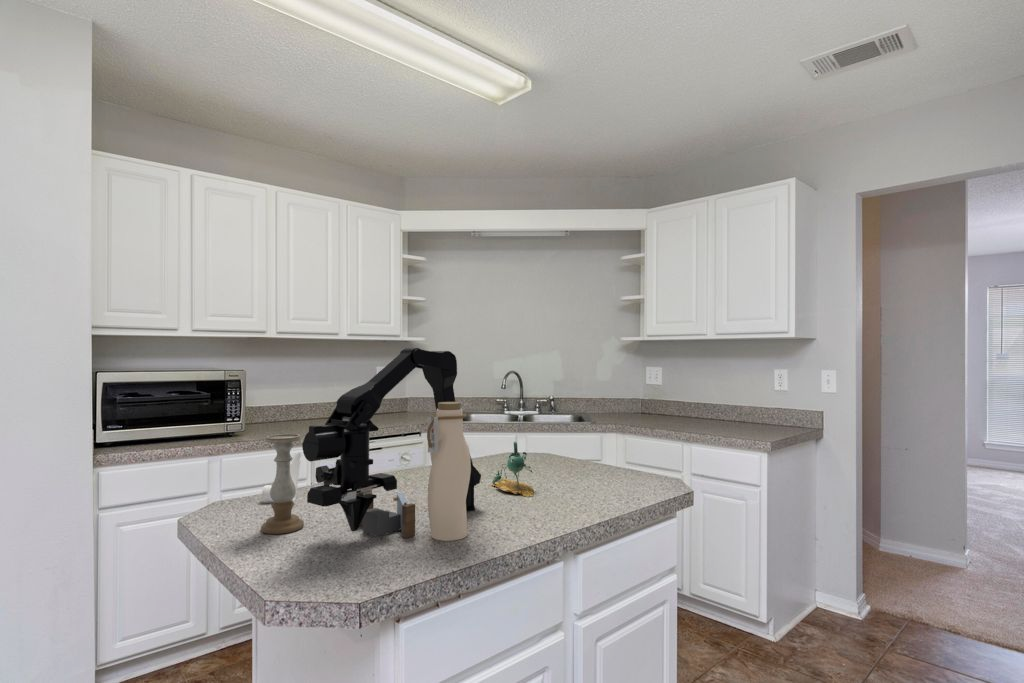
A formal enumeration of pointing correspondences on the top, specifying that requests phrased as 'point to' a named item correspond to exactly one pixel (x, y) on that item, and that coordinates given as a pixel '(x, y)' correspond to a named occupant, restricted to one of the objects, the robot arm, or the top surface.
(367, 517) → the dark grey stepped block
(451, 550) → the top surface
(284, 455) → the candle holder
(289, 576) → the top surface
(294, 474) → the plastic part
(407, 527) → the frame
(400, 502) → the door
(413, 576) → the top surface
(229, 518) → the top surface
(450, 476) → the water bottle
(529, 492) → the frog figurine
